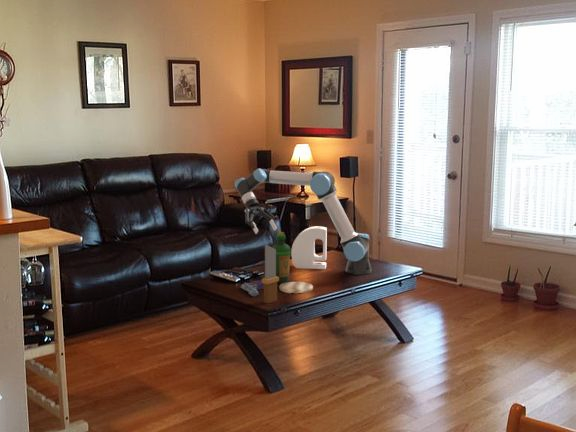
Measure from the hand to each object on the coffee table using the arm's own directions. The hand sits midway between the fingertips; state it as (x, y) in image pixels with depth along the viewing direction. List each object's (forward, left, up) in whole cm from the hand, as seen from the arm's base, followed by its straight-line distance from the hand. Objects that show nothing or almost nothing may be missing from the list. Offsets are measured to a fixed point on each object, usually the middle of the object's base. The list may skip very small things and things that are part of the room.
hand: (266, 231), depth 374 cm
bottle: (-8, +9, -27) cm, 30 cm away
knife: (-3, +47, -27) cm, 54 cm away
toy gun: (+5, +29, -28) cm, 40 cm away
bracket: (-25, -23, -27) cm, 44 cm away
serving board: (-16, +24, -27) cm, 40 cm away
